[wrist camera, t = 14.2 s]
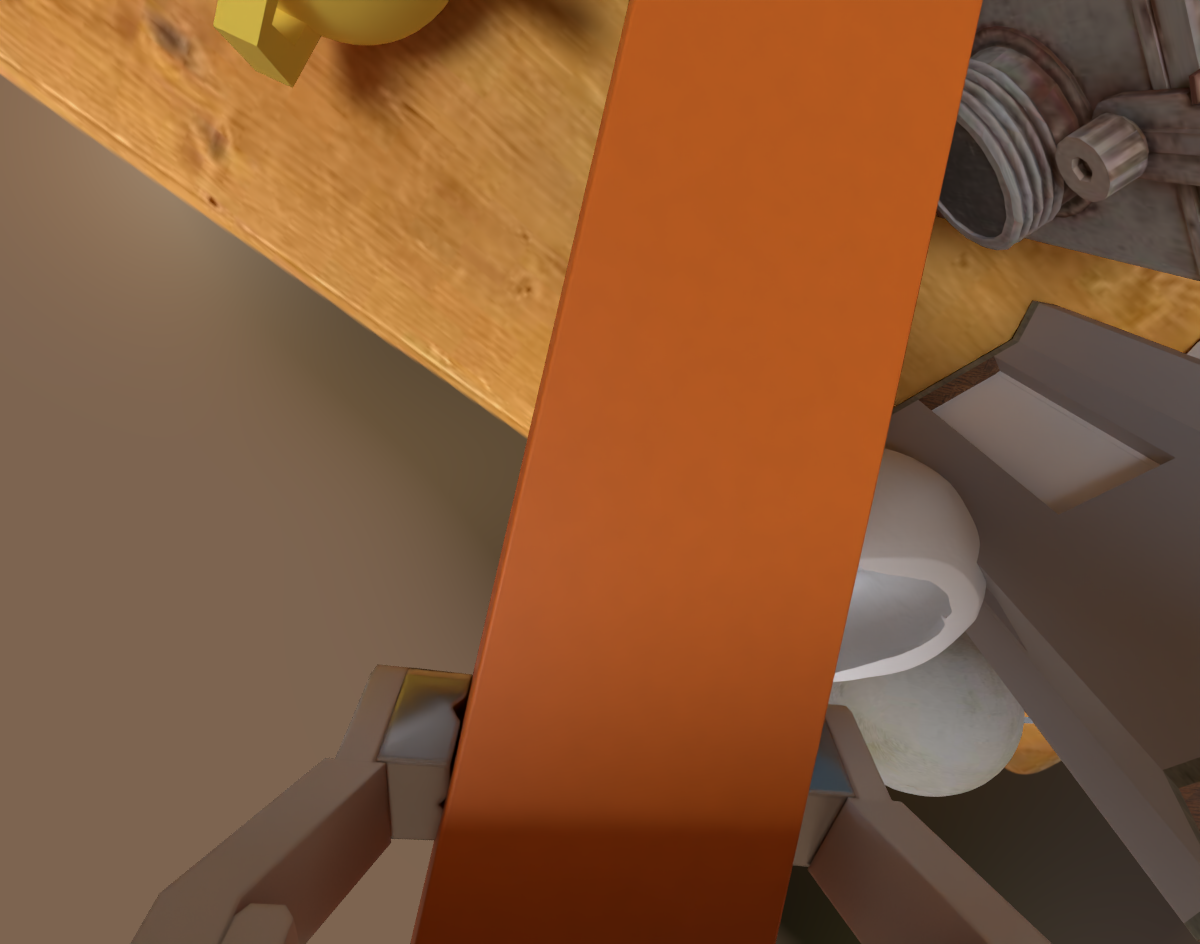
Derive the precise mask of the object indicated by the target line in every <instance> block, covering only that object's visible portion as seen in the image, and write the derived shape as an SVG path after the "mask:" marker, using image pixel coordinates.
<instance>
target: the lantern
mask: <svg viewBox="0 0 1200 944" xmlns="http://www.w3.org/2000/svg"><path fill="white" fill-rule="evenodd" d="M936 214H937V216H938V217H941V218H945V219H947V221H948V222H949V223H950V224H951V225H952V226H953V227H955V228H956V229H957V230H958V231H959V232H960V233H961V234H963V235H964V236H965V237H966V238H968V239H970V240H972V241H973V242H975V243H977V244H979V245H981V246H983V247H986V248H989V249H994V250H1006V249H1009V248H1010V247H1011V246H1012V245H1014V244H1015V243H1017V242H1020V241H1021V240H1022V239H1023V238H1027V239H1031V240H1035V241H1039V242H1043V243H1047V244H1051V245H1055V246H1059V247H1063V248H1067V249H1071V250H1075V251H1079V252H1084V253H1088V254H1092V255H1096V256H1100V257H1104V258H1108V259H1112V260H1116V261H1120V262H1124V263H1128V264H1132V265H1136V266H1140V267H1144V268H1149V269H1153V270H1157V271H1161V272H1165V273H1169V274H1173V275H1177V276H1181V277H1185V278H1189V279H1193V280H1197V281H1200V0H983V2H982V7H981V11H980V16H979V20H978V25H977V29H976V34H975V38H974V43H973V48H972V52H971V57H970V61H969V66H968V70H967V75H966V79H965V84H964V88H963V93H962V98H961V102H960V107H959V111H958V116H957V120H956V125H955V129H954V134H953V138H952V143H951V148H950V152H949V157H948V161H947V166H946V170H945V175H944V179H943V184H942V188H941V193H940V198H939V202H938V207H937V211H936Z"/></svg>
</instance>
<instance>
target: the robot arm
mask: <svg viewBox="0 0 1200 944" xmlns="http://www.w3.org/2000/svg"><path fill="white" fill-rule="evenodd" d="M1187 354H1188V355H1190V356H1193V357H1196V358H1198V359H1200V341H1199V342H1198V343H1197V344H1196V345H1195V346H1194V347H1193V348H1192V349H1191V350H1190V351H1189V352H1188V353H1187ZM472 677H473V675H471V674H462V673H454V672H444V671H435V670H427V669H418V668H407V667H397V666H388V665H377V666H376V667H375V669H374V670H373V671H372V672H371V674H370V677H369V679H368V682H367V684H366V686H365V689H364V691H363V693H362V696H361V698H360V701H359V703H358V705H357V708H356V710H355V712H354V715H353V717H352V720H351V722H350V724H349V727H348V729H347V732H346V734H345V736H344V739H343V741H342V744H341V746H340V749H339V751H338V753H337V755H336V758H335V759H333V758H331V759H330V758H325V759H323V760H322V761H321V762H320V763H318V764H317V765H316V766H315V767H313V768H312V769H311V770H310V771H309V772H307V773H306V774H305V775H304V776H302V777H301V778H300V779H299V780H298V781H296V782H295V783H294V784H293V785H291V786H290V787H289V788H288V789H287V790H285V791H284V792H283V793H282V794H280V795H279V796H278V797H277V798H276V799H274V800H273V801H272V802H271V803H269V804H268V805H267V806H266V807H265V808H263V809H262V810H261V811H260V812H259V813H257V814H256V815H255V816H254V817H252V818H251V819H250V820H249V821H247V822H246V823H245V824H244V825H243V826H241V827H240V828H239V829H238V830H236V831H235V832H234V833H233V834H232V835H230V836H229V837H228V838H227V839H226V840H224V841H223V842H222V843H221V844H220V845H218V846H217V847H216V848H215V849H213V850H212V851H211V852H210V853H208V854H207V855H206V856H205V857H203V858H202V859H201V860H200V861H199V862H197V863H196V864H195V865H194V866H193V867H191V868H190V869H189V870H188V871H186V872H185V873H184V874H183V875H182V876H180V877H179V878H178V879H177V880H175V881H174V882H173V883H172V884H170V885H169V886H168V887H167V888H166V889H164V890H163V891H162V892H161V893H160V894H159V895H158V897H157V899H156V900H155V902H154V904H153V906H152V908H151V909H150V911H149V913H148V914H147V916H146V918H145V919H144V921H143V923H142V925H141V926H140V928H139V930H138V932H137V933H136V935H135V937H134V938H133V940H132V942H131V944H306V942H307V941H308V940H309V939H310V938H311V937H312V935H313V934H314V933H315V932H316V931H317V930H318V928H319V927H320V926H321V925H322V923H324V921H325V920H326V919H327V918H328V917H329V915H330V914H331V913H332V912H333V910H335V908H336V907H337V906H338V905H339V904H340V902H341V901H342V900H343V899H344V898H345V897H346V895H347V894H348V893H349V892H350V891H351V889H352V888H353V887H354V886H355V885H356V884H357V882H358V881H359V880H360V879H361V877H362V876H363V875H364V874H365V873H366V872H367V870H368V869H369V868H370V867H371V866H372V865H373V863H374V862H375V861H376V860H377V859H378V857H379V856H380V855H381V854H382V853H383V852H384V850H385V849H386V848H387V847H388V846H389V845H390V843H391V839H414V840H436V836H437V832H438V828H439V824H440V820H441V816H442V812H443V808H444V804H445V799H446V797H447V793H448V789H449V785H450V780H451V775H452V771H453V766H454V761H455V757H456V752H457V747H458V743H459V738H460V731H461V726H462V722H463V718H464V714H465V710H466V705H467V701H468V696H469V691H470V687H471V682H472ZM793 865H797V866H807V867H809V868H808V871H809V872H810V874H811V875H812V876H813V878H814V879H815V880H816V882H817V883H818V885H819V886H820V887H821V889H822V890H823V892H824V893H825V894H826V896H827V897H828V898H829V900H830V901H831V903H832V904H833V905H834V907H835V908H836V910H837V911H838V912H839V914H840V915H841V916H842V918H843V919H844V920H845V922H846V923H847V925H848V926H849V927H850V929H851V930H852V931H853V933H854V934H855V936H856V937H857V938H858V940H859V941H860V943H861V944H1052V943H1050V942H1049V941H1048V940H1047V939H1046V938H1045V937H1044V936H1043V935H1042V934H1041V933H1040V932H1039V931H1038V930H1037V929H1036V928H1035V927H1034V926H1032V925H1031V924H1030V923H1029V922H1028V921H1027V920H1026V919H1025V918H1024V917H1023V916H1022V915H1021V914H1020V913H1019V912H1018V911H1016V910H1015V909H1014V908H1013V907H1012V906H1011V905H1010V904H1009V903H1008V902H1007V901H1006V900H1005V899H1004V898H1003V897H1002V896H1000V895H999V894H998V893H997V892H996V891H995V890H994V889H993V888H992V887H991V886H990V885H989V884H988V883H987V882H986V881H985V880H984V879H983V878H981V877H980V876H979V875H978V874H977V873H976V872H975V871H974V870H973V869H972V868H971V867H970V866H969V865H968V864H967V863H965V862H964V861H963V860H962V859H961V858H960V857H959V856H958V855H957V854H956V853H955V852H954V851H953V850H952V849H951V848H950V847H948V846H947V845H946V844H945V843H944V842H943V841H942V840H941V839H940V838H939V837H938V836H937V835H936V834H935V833H933V831H931V830H930V829H929V828H928V827H927V826H926V825H925V824H924V823H923V822H922V821H921V820H920V819H919V818H918V817H917V816H915V815H914V814H913V813H912V812H911V811H910V810H909V809H908V808H907V807H906V806H905V805H904V804H903V803H902V802H898V801H892V800H891V798H890V796H889V794H888V792H887V789H886V787H885V785H884V782H883V780H882V778H881V776H880V774H879V771H878V769H877V767H876V765H875V762H874V760H873V758H872V756H871V754H870V751H869V749H868V747H867V745H866V743H865V740H864V738H863V736H862V734H861V731H860V729H859V727H858V725H857V723H856V720H855V718H854V716H853V714H852V711H851V710H850V709H849V708H848V707H847V706H844V705H832V704H828V707H827V711H826V716H825V720H824V725H823V729H822V734H821V739H820V743H819V748H818V752H817V757H816V761H815V766H814V770H813V775H812V779H811V784H810V789H809V793H808V798H807V802H806V807H805V811H804V816H803V820H802V825H801V829H800V834H799V839H798V843H797V848H796V852H795V857H794V861H793Z"/></svg>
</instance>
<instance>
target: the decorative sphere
mask: <svg viewBox="0 0 1200 944" xmlns="http://www.w3.org/2000/svg"><path fill="white" fill-rule="evenodd" d="M828 704H832V705H844V706H847V707H848V708H849V709H850V710H851V711H852V714H853V716H854V718H855V720H856V723H857V725H858V727H859V729H860V731H861V734H862V736H863V738H864V740H865V743H866V745H867V747H868V749H869V751H870V754H871V756H872V758H873V760H874V762H875V765H876V767H877V769H878V771H879V774H880V776H881V778H882V780H883V782H884V785H887V786H889V787H891V788H893V789H895V790H899V791H902V792H906V793H911V794H915V795H921V796H948V795H955V794H960V793H963V792H967V791H970V790H972V789H975V788H977V787H979V786H981V785H983V784H985V783H986V782H987V781H989V780H990V779H992V778H993V777H994V776H996V775H997V774H998V773H1000V771H1001V770H1002V769H1003V768H1004V767H1005V766H1006V764H1007V763H1008V762H1009V761H1010V760H1011V758H1012V756H1013V754H1014V752H1015V750H1016V749H1017V747H1018V744H1019V741H1020V738H1021V736H1022V730H1023V724H1024V709H1023V708H1022V707H1021V705H1020V704H1019V703H1018V701H1017V700H1016V699H1015V697H1014V696H1013V695H1012V693H1011V692H1010V691H1009V689H1008V688H1007V687H1006V685H1005V684H1004V683H1003V681H1002V680H1001V679H1000V677H999V676H998V675H997V673H996V672H995V671H994V669H993V668H992V667H991V665H990V664H989V663H988V661H987V660H986V659H985V657H984V656H983V655H982V653H981V652H980V651H979V649H978V648H977V647H976V645H975V644H974V643H973V641H972V640H971V639H970V637H969V636H968V635H967V633H966V632H964V633H963V634H962V635H961V636H959V637H958V638H957V639H956V640H955V641H954V642H953V643H952V644H951V645H949V646H948V647H947V648H946V649H945V650H943V651H942V652H941V653H939V654H938V655H936V656H935V657H933V658H932V659H930V660H928V661H926V662H925V663H923V664H920V665H918V666H916V667H913V668H911V669H908V670H905V671H901V672H897V673H893V674H888V675H882V676H875V677H867V678H862V679H856V680H850V681H841V682H833V684H832V689H831V693H830V698H829V702H828Z"/></svg>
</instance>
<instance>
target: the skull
mask: <svg viewBox="0 0 1200 944" xmlns="http://www.w3.org/2000/svg"><path fill="white" fill-rule="evenodd" d="M979 548H980V540H979V535H978V531H977V528H976V525H975V523H974V521H973V519H972V517H971V515H970V513H969V511H968V509H967V508H966V506H965V504H964V502H963V500H962V499H961V497H960V495H959V494H958V493H957V491H956V490H955V489H954V487H953V486H952V485H951V484H950V483H949V482H948V481H947V480H946V479H944V478H943V477H942V476H941V475H940V474H938V473H937V472H935V471H934V470H932V469H931V468H929V467H928V466H926V465H924V464H923V463H921V462H919V461H917V460H915V459H914V458H912V457H909V456H906V455H904V454H901V453H899V452H896V451H892V450H889V449H885V448H884V452H883V457H882V461H881V466H880V470H879V475H878V479H877V484H876V489H875V493H874V498H873V502H872V507H871V511H870V516H869V520H868V525H867V529H866V534H865V539H864V543H863V548H862V552H861V557H860V561H859V566H858V570H857V575H856V579H855V584H854V589H853V593H852V598H851V602H850V607H849V611H848V616H847V620H846V625H845V629H844V634H843V639H842V643H841V648H840V652H839V657H838V661H837V666H836V670H835V675H834V679H833V682H841V681H850V680H856V679H862V678H867V677H875V676H882V675H888V674H893V673H897V672H901V671H905V670H908V669H911V668H913V667H916V666H918V665H920V664H923V663H925V662H926V661H928V660H930V659H932V658H933V657H935V656H936V655H938V654H939V653H941V652H942V651H943V650H945V649H946V648H947V647H948V646H949V645H951V644H952V643H953V642H954V641H955V640H956V639H957V638H958V637H959V636H961V635H962V634H963V633H964V632H965V630H966V629H967V628H968V627H969V626H971V625H972V623H973V622H974V621H975V620H976V618H977V616H978V613H979V611H980V608H981V605H982V602H983V600H984V596H985V590H986V580H985V578H984V576H983V573H982V571H981V570H980V568H979V566H978V564H977V559H978V555H979Z"/></svg>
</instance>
